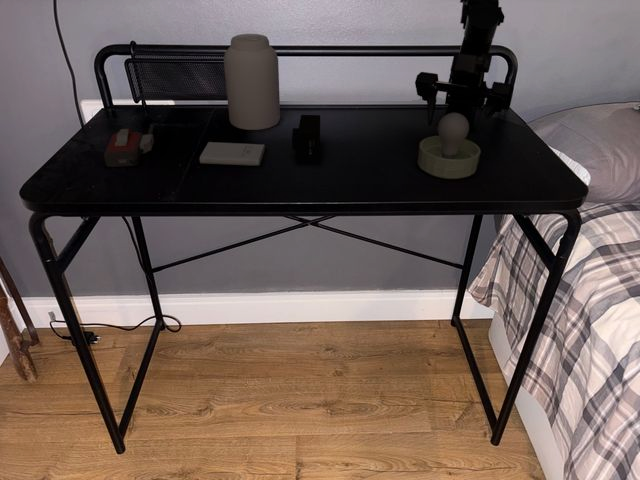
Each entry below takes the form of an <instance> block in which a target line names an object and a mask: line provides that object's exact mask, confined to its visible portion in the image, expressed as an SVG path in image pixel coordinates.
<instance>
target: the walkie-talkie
mask: <svg viewBox="0 0 640 480" xmlns="http://www.w3.org/2000/svg"><path fill="white" fill-rule="evenodd" d="M154 130H155V124H154V123H150V124H149V127H148V130H147V133H146V134H143V132H142V131H141V132H140V131H132V129H131V128H120V129H118V131H117V132H115V133H113V134H112V135H111V136H110V139H109V141H108V144H107V146H106V148H105V151H104V153H103V160H104V163H105V166H106V167H108V168H120V167H135V166H137V165H138V164H139V163H140V160H141V156H142V155H145V154H146V153H148V152H151V151H152V149H153V145H154V144H155V138H154V135H153V133H154Z"/></svg>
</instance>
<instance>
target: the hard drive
mask: <svg viewBox="0 0 640 480" xmlns="http://www.w3.org/2000/svg"><path fill="white" fill-rule="evenodd" d="M265 151H266V145H265V144H262V143H261V144H259V143H255V144H254V143H239V142H238V143H237V142H216V141H215V142H213V141H208V142H207V143H206V146H205V147H204V149H203V151H202V152H201V154H200V156H199V164H207V165H228V166H250V167H253V166H256V167H258V166H260V165H261V162H262V159H263V157H264V155H265V154H264V153H265Z"/></svg>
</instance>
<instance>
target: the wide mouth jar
mask: <svg viewBox="0 0 640 480" xmlns="http://www.w3.org/2000/svg"><path fill="white" fill-rule="evenodd" d="M223 68H224V76H225V77H224V78H225V88H226V99H227V109H228V119H229V123H230V124H231V125H232V126H233V127H235V128H238V129H241V130H246V131H260V130H265V129H270V128H273V127H275V126H276V125H278V124H279V122H280V119H281V107H280V106H281V101H280V74H279V72H280V71H279V68H280V67H279V57H278V54H277V51H276V50H275V48H273V47H272V46H271V45H270V39H269V38H268V36H266V35H263V34H259V33H240V34H237V35H235V36H234V35H233V36H232V38H231V39H230V46H229V47H228V48H227V49H226V50H225V52H224V54H223Z"/></svg>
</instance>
